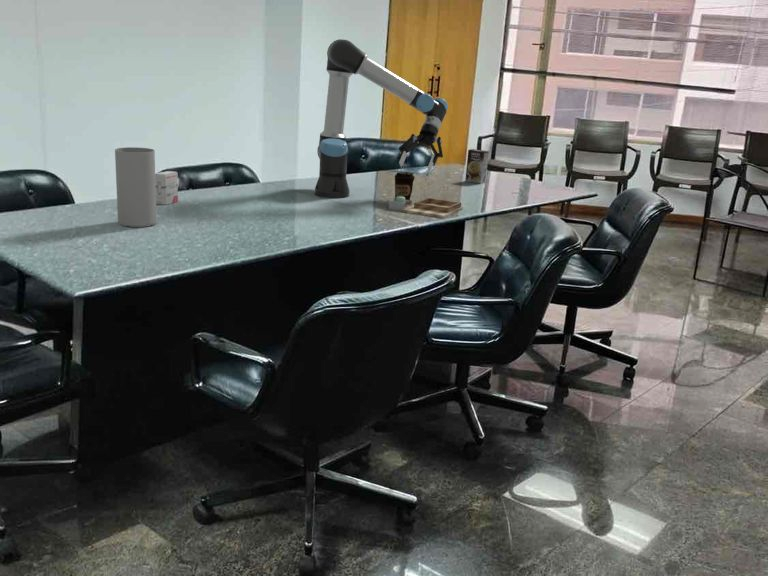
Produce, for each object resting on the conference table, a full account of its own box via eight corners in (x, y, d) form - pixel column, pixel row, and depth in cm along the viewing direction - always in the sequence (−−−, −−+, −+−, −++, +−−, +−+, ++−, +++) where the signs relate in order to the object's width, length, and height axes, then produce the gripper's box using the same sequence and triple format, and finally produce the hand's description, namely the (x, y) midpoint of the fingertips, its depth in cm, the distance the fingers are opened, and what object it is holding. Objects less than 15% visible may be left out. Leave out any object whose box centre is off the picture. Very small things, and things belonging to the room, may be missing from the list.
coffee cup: (410, 206, 321) (412, 175, 317) (391, 204, 322) (393, 173, 319) (414, 202, 329) (416, 172, 325) (395, 200, 331) (397, 170, 327)
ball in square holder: (388, 209, 312) (389, 200, 311) (395, 206, 318) (396, 198, 317) (404, 211, 309) (404, 202, 308) (411, 208, 316) (411, 200, 314)
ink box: (168, 200, 303) (167, 170, 299) (178, 201, 301) (178, 171, 298) (154, 203, 295) (153, 173, 291) (165, 205, 293) (164, 174, 290)
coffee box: (464, 181, 392) (467, 149, 387) (470, 180, 397) (473, 148, 393) (480, 183, 388) (484, 151, 383) (486, 182, 393) (489, 150, 388)
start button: (394, 205, 313) (394, 197, 312) (397, 204, 316) (398, 196, 315) (402, 207, 311) (403, 198, 310) (405, 205, 314) (406, 197, 313)
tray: (401, 211, 308) (402, 204, 307) (422, 203, 328) (423, 196, 327) (443, 218, 301) (444, 210, 300) (462, 209, 321) (463, 202, 320)
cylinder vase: (138, 218, 270) (136, 146, 263) (164, 223, 264) (162, 150, 257) (110, 223, 260) (106, 149, 252) (136, 229, 254) (133, 153, 247)
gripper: (402, 120, 341) (386, 157, 332) (455, 125, 331) (440, 164, 323) (406, 131, 347) (390, 168, 339) (458, 137, 338) (443, 175, 329)
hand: (414, 166), depth 331 cm, fingers open, 13 cm apart
